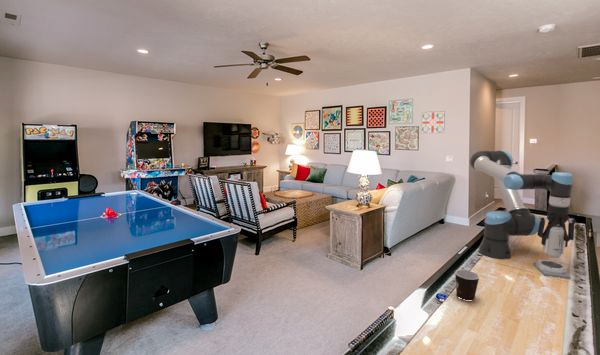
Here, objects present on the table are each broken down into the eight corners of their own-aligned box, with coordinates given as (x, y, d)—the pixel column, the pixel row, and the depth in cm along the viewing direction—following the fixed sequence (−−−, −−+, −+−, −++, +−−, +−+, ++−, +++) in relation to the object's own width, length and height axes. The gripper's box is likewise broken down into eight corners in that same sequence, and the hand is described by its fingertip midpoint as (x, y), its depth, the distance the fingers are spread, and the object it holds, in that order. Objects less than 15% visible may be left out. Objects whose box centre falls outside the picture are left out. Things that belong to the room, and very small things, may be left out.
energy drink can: (556, 259, 144) (560, 228, 142) (542, 254, 149) (545, 225, 147) (563, 257, 146) (567, 226, 144) (549, 252, 152) (552, 223, 150)
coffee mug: (455, 289, 132) (456, 267, 131) (478, 295, 127) (480, 273, 126) (450, 302, 123) (452, 278, 121) (475, 309, 118) (477, 284, 116)
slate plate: (544, 275, 144) (544, 273, 144) (532, 263, 157) (533, 261, 157) (570, 279, 141) (570, 277, 141) (556, 266, 154) (556, 264, 154)
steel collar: (542, 272, 146) (543, 267, 145) (533, 263, 156) (534, 258, 155) (569, 275, 142) (570, 270, 142) (558, 266, 152) (559, 261, 152)
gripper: (537, 205, 144) (532, 252, 147) (588, 208, 138) (581, 257, 141) (531, 202, 151) (526, 247, 154) (579, 205, 145) (573, 251, 148)
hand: (553, 252), depth 148 cm, fingers closed on energy drink can, 6 cm apart
